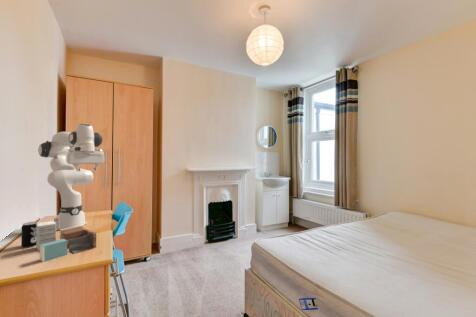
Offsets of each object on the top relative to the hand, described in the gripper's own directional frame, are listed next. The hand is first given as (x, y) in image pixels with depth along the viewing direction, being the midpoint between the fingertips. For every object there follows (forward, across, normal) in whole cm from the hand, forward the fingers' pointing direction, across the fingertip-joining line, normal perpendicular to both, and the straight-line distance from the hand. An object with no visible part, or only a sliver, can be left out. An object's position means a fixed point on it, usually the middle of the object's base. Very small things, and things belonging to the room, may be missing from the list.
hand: (87, 171), depth 138 cm
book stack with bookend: (+41, +13, +17) cm, 46 cm away
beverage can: (+39, +26, -6) cm, 47 cm away
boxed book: (+41, +24, +22) cm, 53 cm away
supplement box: (+40, +22, +4) cm, 46 cm away
